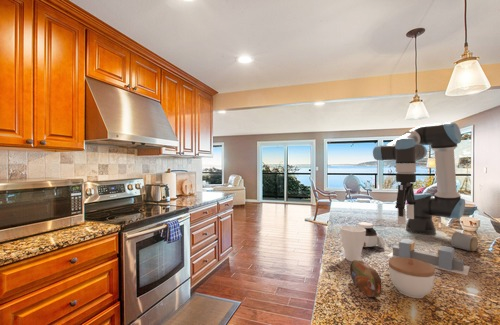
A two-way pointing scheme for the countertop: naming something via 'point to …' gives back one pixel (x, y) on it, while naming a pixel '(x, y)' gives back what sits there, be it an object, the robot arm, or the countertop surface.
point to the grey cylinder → (464, 241)
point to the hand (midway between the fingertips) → (406, 221)
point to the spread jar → (371, 236)
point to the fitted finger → (445, 257)
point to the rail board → (433, 260)
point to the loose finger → (406, 247)
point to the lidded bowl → (411, 276)
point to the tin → (365, 278)
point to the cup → (353, 241)
